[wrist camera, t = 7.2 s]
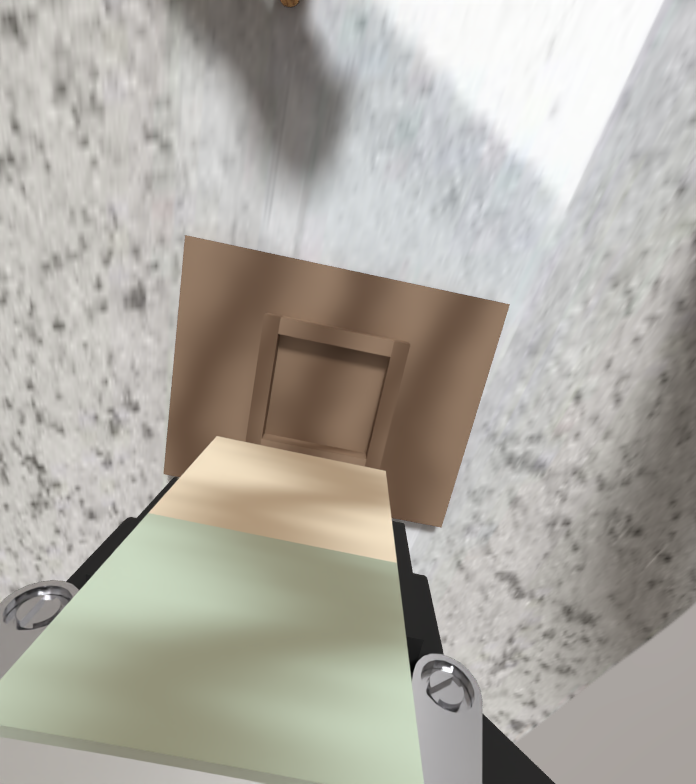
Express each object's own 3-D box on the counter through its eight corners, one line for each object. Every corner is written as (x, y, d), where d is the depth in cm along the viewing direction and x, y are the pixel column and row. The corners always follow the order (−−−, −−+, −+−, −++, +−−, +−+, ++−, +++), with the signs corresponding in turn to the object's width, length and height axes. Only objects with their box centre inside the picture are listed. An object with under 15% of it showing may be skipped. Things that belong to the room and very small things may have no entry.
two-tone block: (385, 471, 12) (428, 815, 4) (350, 607, 13) (335, 1050, 6) (216, 436, 12) (-43, 728, 4) (198, 577, 13) (-23, 989, 6)
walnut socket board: (504, 303, 26) (515, 305, 24) (438, 519, 31) (444, 535, 29) (191, 236, 26) (178, 233, 24) (169, 467, 30) (157, 480, 28)
